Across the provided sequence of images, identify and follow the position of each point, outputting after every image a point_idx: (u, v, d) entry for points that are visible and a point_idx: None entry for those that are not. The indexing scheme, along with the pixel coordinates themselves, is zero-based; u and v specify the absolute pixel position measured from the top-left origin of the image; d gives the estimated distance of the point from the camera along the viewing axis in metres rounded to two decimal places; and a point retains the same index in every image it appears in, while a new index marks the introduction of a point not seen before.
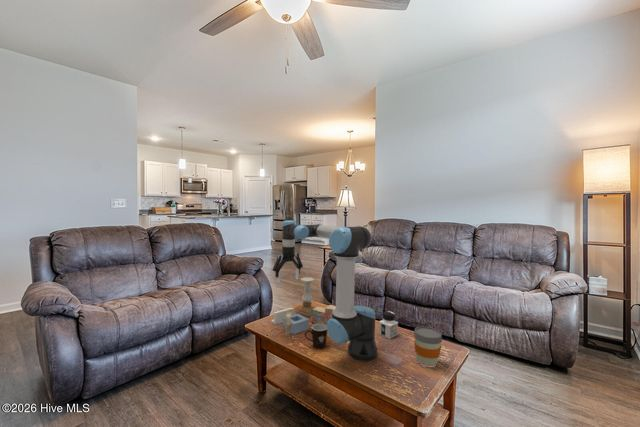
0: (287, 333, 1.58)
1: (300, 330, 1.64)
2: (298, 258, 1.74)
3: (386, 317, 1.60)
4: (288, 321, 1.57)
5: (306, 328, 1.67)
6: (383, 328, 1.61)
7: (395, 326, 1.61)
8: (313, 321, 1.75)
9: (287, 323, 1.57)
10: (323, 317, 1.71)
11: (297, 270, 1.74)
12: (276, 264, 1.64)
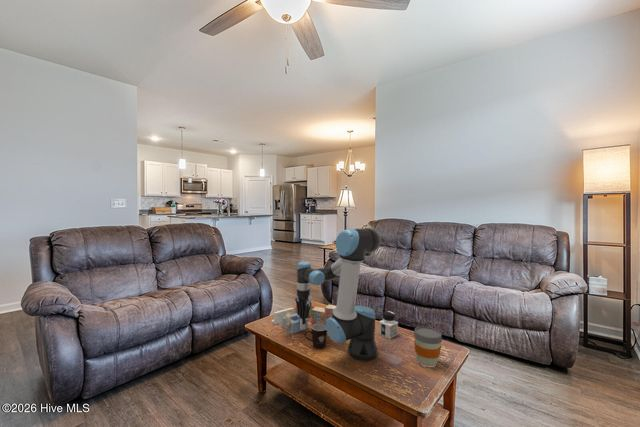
0: (287, 333, 1.58)
1: (299, 329, 1.65)
2: (305, 308, 1.59)
3: (386, 317, 1.60)
4: (288, 321, 1.57)
5: (305, 327, 1.68)
6: (383, 328, 1.61)
7: (395, 326, 1.61)
8: (312, 321, 1.75)
9: (287, 323, 1.57)
10: (322, 317, 1.72)
11: None
12: None
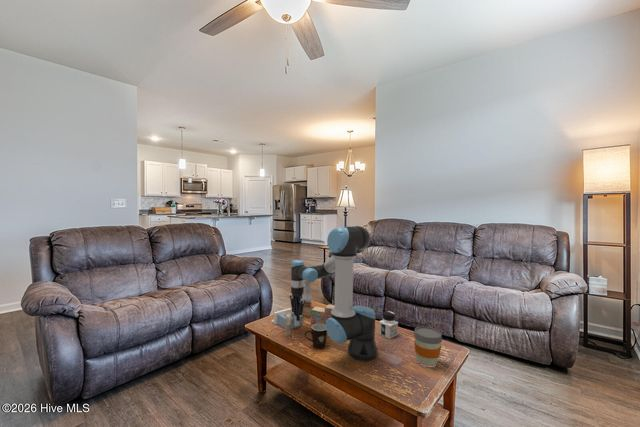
0: (287, 333, 1.58)
1: (294, 326, 1.69)
2: (299, 305, 1.63)
3: (386, 317, 1.60)
4: (288, 321, 1.57)
5: (300, 324, 1.72)
6: (383, 328, 1.61)
7: (395, 326, 1.61)
8: (312, 321, 1.75)
9: (287, 323, 1.57)
10: (322, 317, 1.72)
11: None
12: None
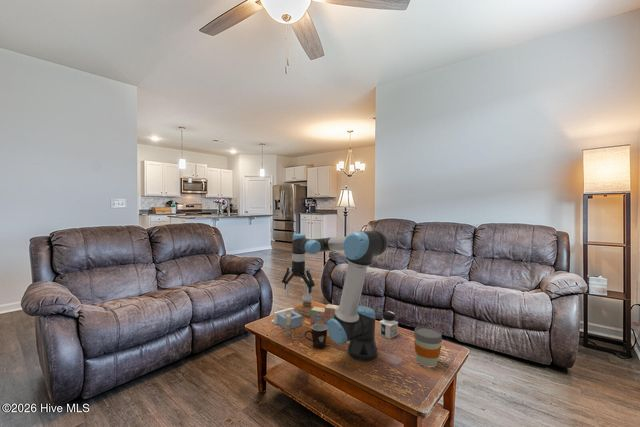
0: (287, 333, 1.58)
1: (294, 326, 1.69)
2: (307, 276, 1.59)
3: (386, 317, 1.60)
4: (288, 321, 1.57)
5: (300, 324, 1.72)
6: (383, 328, 1.61)
7: (395, 326, 1.61)
8: (311, 321, 1.75)
9: (287, 323, 1.57)
10: (322, 316, 1.72)
11: None
12: (284, 276, 1.66)
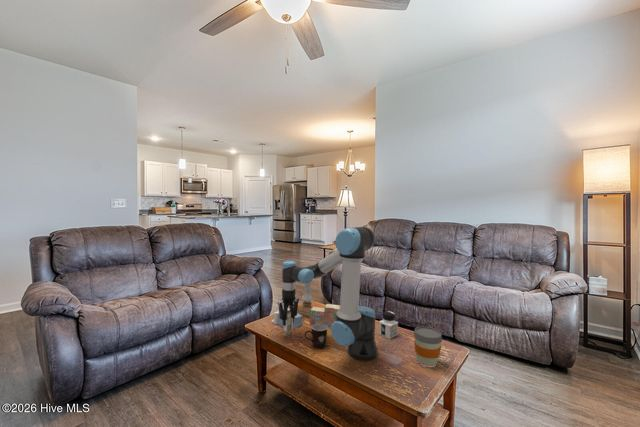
0: (287, 333, 1.58)
1: (294, 326, 1.69)
2: (296, 304, 1.61)
3: (386, 317, 1.60)
4: (288, 321, 1.57)
5: (300, 324, 1.72)
6: (383, 328, 1.61)
7: (395, 326, 1.61)
8: (311, 322, 1.74)
9: (287, 323, 1.57)
10: (322, 316, 1.72)
11: (291, 319, 1.59)
12: (280, 312, 1.54)
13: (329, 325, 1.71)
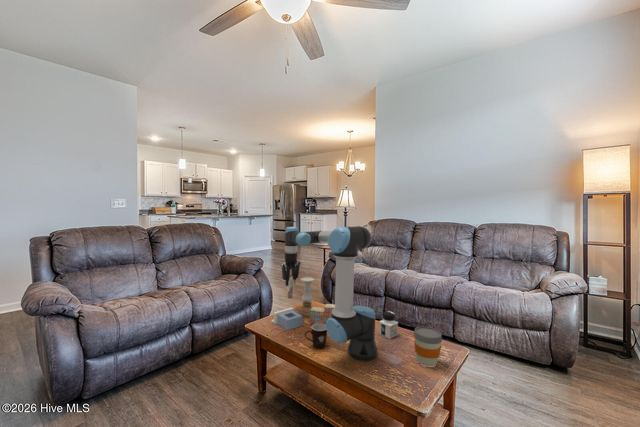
0: (289, 295, 1.71)
1: (294, 326, 1.69)
2: (298, 267, 1.74)
3: (386, 317, 1.60)
4: (290, 284, 1.71)
5: (300, 324, 1.72)
6: (383, 328, 1.61)
7: (395, 326, 1.61)
8: (311, 322, 1.74)
9: None
10: (322, 316, 1.72)
11: None
12: (283, 273, 1.68)
13: None
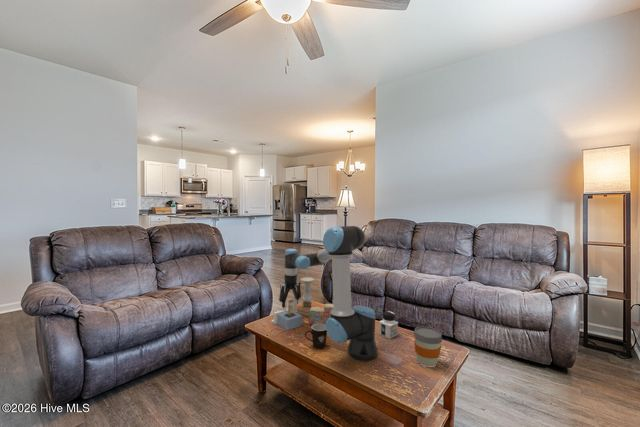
0: None
1: (294, 326, 1.69)
2: (299, 287, 1.76)
3: (386, 317, 1.60)
4: (290, 309, 1.72)
5: (300, 324, 1.72)
6: (383, 328, 1.61)
7: (395, 326, 1.61)
8: (310, 322, 1.74)
9: (290, 311, 1.72)
10: (322, 316, 1.72)
11: (295, 301, 1.75)
12: (281, 295, 1.68)
13: None
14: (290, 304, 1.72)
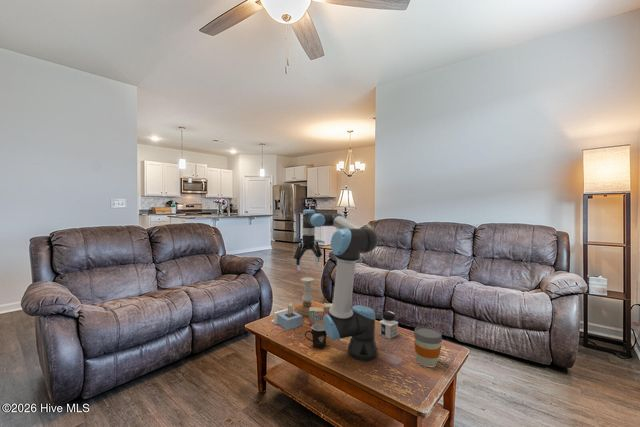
0: None
1: (294, 326, 1.69)
2: (317, 247, 1.77)
3: (386, 317, 1.60)
4: (290, 309, 1.72)
5: (300, 324, 1.72)
6: (383, 328, 1.61)
7: (395, 326, 1.61)
8: (309, 322, 1.74)
9: (289, 311, 1.72)
10: (321, 316, 1.73)
11: (316, 258, 1.77)
12: (297, 252, 1.67)
13: None
14: (289, 304, 1.72)
